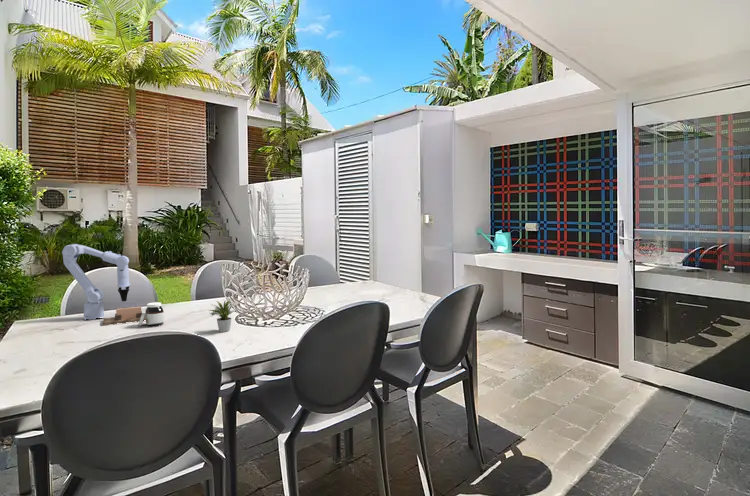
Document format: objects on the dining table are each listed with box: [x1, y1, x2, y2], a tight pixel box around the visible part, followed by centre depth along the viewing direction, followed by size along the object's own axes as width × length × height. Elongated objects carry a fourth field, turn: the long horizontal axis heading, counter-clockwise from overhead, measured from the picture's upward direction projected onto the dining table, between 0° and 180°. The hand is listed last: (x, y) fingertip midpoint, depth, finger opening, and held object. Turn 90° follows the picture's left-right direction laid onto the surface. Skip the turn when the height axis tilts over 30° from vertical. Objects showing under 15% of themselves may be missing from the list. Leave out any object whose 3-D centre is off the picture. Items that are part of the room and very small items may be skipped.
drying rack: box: [102, 310, 146, 326], centre depth 236 cm, size 24×12×4 cm, turn 120°
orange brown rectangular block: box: [115, 306, 142, 319], centre depth 236 cm, size 12×3×6 cm, turn 120°
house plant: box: [208, 300, 234, 333], centre depth 215 cm, size 14×14×16 cm
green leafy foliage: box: [213, 299, 235, 315], centre depth 269 cm, size 34×5×10 cm
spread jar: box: [137, 301, 165, 327], centre depth 225 cm, size 12×11×12 cm
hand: (124, 300), depth 245 cm, fingers open, 7 cm apart
